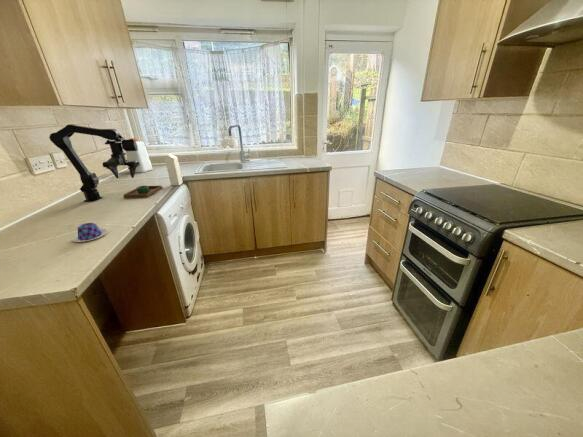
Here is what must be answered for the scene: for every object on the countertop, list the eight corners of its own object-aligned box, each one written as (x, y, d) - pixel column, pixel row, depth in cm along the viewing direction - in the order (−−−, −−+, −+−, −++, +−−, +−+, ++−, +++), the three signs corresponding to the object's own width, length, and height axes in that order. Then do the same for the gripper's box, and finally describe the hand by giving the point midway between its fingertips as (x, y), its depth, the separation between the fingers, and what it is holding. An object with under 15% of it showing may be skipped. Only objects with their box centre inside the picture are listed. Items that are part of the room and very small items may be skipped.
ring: (136, 193, 154) (134, 188, 153) (141, 190, 160) (140, 185, 159) (146, 193, 154) (144, 188, 153) (151, 190, 160) (150, 185, 158)
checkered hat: (67, 246, 95) (62, 234, 93) (78, 233, 105) (73, 222, 103) (104, 239, 99) (99, 228, 97) (110, 228, 110) (106, 217, 107)
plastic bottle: (155, 169, 224) (146, 137, 213) (142, 173, 211) (133, 139, 199) (141, 168, 227) (132, 137, 216) (128, 172, 214) (117, 139, 203)
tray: (124, 197, 149) (123, 194, 148) (141, 189, 166) (140, 186, 165) (147, 197, 149) (146, 194, 148) (162, 188, 166) (161, 185, 165)
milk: (171, 185, 172) (163, 153, 163) (174, 183, 177) (167, 152, 168) (179, 185, 172) (172, 153, 163) (183, 183, 177) (176, 152, 168)
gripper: (91, 154, 135) (100, 181, 141) (125, 153, 135) (132, 181, 141) (105, 151, 145) (113, 177, 151) (136, 150, 145) (143, 176, 151)
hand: (125, 178), depth 148 cm, fingers open, 9 cm apart
